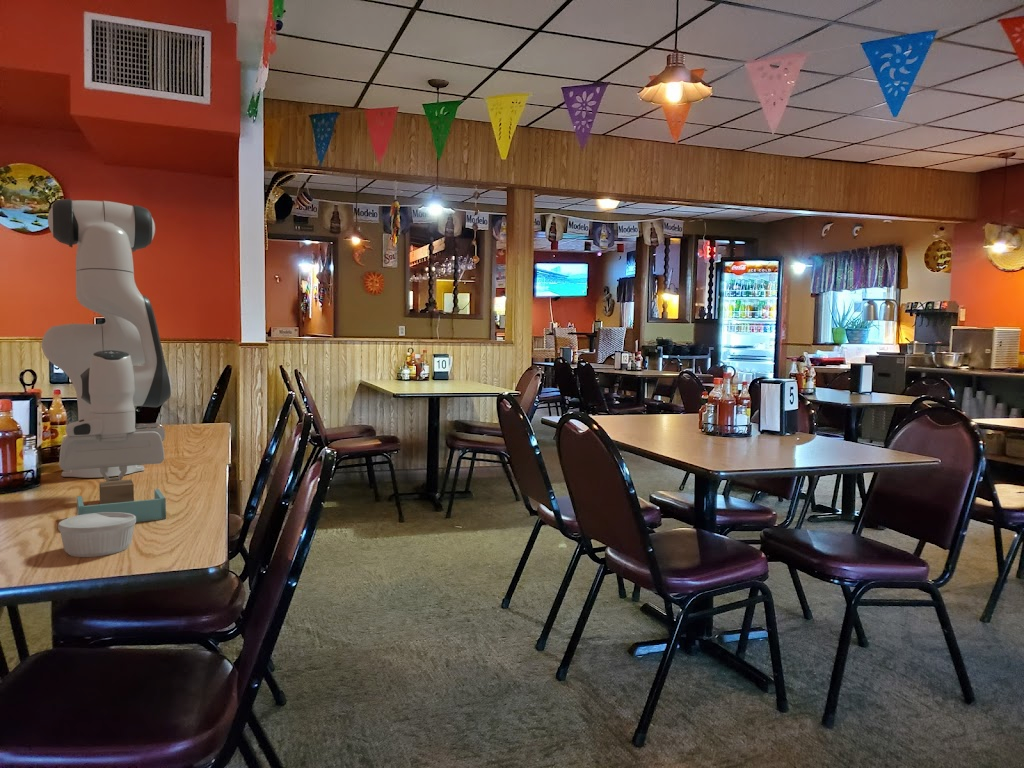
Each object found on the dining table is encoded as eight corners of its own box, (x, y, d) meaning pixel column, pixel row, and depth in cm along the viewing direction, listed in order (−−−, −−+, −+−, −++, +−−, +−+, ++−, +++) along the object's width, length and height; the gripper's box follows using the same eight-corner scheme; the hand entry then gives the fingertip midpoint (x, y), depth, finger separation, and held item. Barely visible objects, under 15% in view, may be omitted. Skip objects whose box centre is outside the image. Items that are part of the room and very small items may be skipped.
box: (77, 516, 141) (77, 496, 141) (158, 507, 149) (158, 489, 149) (79, 528, 132) (78, 507, 132) (165, 518, 140) (165, 498, 140)
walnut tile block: (99, 505, 151) (99, 481, 151) (131, 502, 154) (131, 479, 154) (101, 510, 146) (100, 486, 146) (133, 507, 149) (133, 484, 149)
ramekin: (148, 541, 125) (148, 511, 125) (114, 560, 114) (114, 528, 113) (84, 540, 125) (83, 510, 124) (43, 559, 114) (43, 527, 113)
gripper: (163, 420, 164) (163, 480, 165) (58, 425, 153) (59, 488, 154) (166, 423, 159) (167, 484, 160) (58, 428, 148) (60, 494, 148)
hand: (113, 486), depth 157 cm, fingers closed
